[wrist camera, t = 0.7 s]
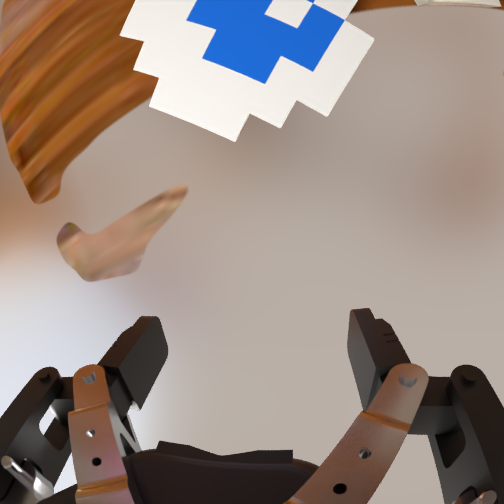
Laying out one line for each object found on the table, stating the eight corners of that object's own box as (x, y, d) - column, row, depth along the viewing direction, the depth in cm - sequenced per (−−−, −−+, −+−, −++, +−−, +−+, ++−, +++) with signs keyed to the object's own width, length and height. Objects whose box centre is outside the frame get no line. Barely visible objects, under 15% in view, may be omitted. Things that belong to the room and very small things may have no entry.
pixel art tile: (188, -82, 13) (401, -4, 18) (197, -71, 16) (390, 2, 21) (100, 90, 28) (293, 171, 33) (115, 87, 32) (292, 161, 37)
